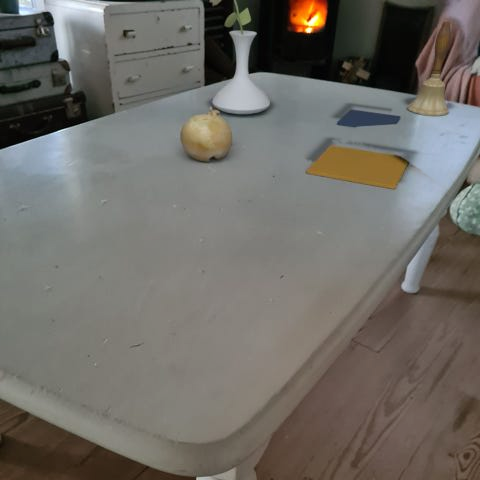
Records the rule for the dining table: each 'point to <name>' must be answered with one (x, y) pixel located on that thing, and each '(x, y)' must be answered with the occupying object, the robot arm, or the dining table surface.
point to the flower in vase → (240, 73)
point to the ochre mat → (360, 166)
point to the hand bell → (434, 81)
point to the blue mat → (367, 119)
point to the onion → (206, 136)
